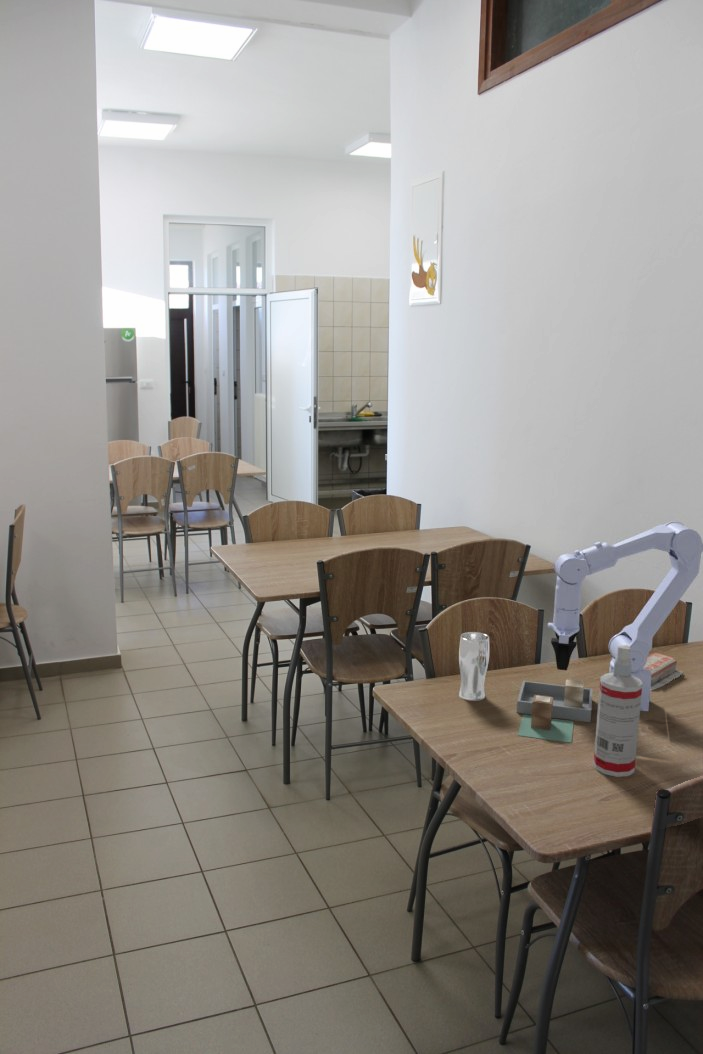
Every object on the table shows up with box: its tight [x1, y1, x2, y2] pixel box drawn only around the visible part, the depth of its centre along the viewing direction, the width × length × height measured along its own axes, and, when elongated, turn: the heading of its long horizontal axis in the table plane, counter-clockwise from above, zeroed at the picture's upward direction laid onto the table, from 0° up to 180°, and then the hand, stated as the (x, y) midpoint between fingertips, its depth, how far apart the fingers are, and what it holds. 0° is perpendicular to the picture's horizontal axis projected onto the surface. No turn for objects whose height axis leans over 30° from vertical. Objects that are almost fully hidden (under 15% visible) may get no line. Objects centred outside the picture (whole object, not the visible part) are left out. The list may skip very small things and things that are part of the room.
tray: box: [516, 680, 594, 723], centre depth 202 cm, size 16×13×3 cm
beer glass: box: [458, 631, 490, 702], centre depth 206 cm, size 7×7×15 cm
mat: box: [517, 714, 575, 744], centre depth 190 cm, size 11×11×1 cm
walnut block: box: [531, 695, 553, 730], centre depth 191 cm, size 4×4×6 cm
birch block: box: [564, 679, 585, 708], centre depth 201 cm, size 4×4×6 cm
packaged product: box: [643, 652, 684, 692], centre depth 222 cm, size 18×5×10 cm
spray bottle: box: [593, 645, 642, 778], centre depth 172 cm, size 8×8×25 cm
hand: (563, 663), depth 204 cm, fingers open, 7 cm apart
